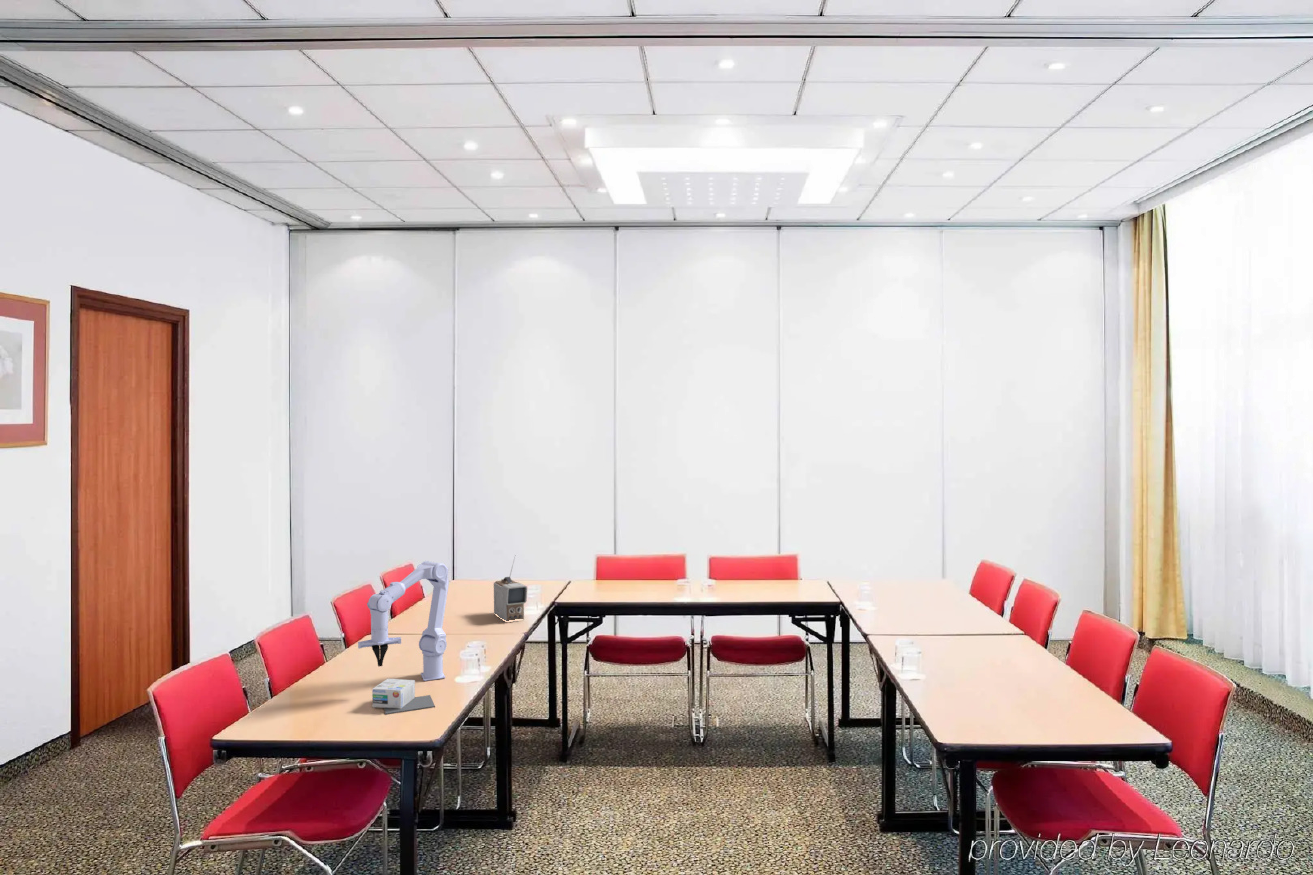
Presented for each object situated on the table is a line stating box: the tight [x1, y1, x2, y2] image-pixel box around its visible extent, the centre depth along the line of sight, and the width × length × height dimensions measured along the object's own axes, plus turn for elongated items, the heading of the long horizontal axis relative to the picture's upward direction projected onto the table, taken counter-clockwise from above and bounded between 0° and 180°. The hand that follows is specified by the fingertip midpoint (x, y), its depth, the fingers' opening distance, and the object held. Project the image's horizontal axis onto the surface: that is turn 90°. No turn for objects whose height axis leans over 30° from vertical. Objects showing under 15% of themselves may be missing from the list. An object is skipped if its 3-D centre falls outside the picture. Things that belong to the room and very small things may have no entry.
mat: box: [383, 694, 436, 715], centre depth 266 cm, size 12×16×1 cm
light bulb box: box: [371, 678, 416, 709], centre depth 267 cm, size 11×7×11 cm
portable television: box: [493, 554, 528, 621], centre depth 387 cm, size 12×24×30 cm, turn 29°
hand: (380, 665), depth 277 cm, fingers closed
